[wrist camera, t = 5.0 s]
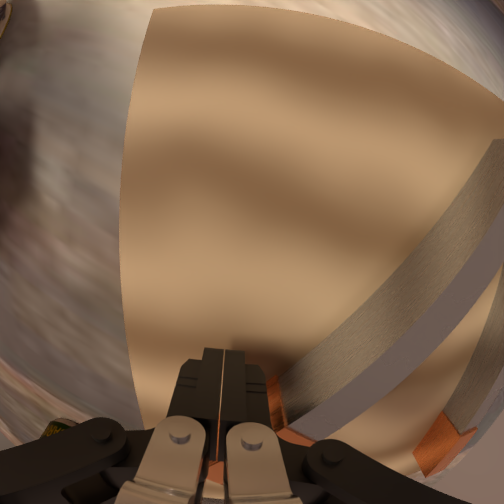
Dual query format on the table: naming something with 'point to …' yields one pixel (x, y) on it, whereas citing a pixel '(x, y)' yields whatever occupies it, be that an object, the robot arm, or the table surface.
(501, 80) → the table surface
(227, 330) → the cutting board
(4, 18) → the chinaware
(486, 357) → the tong fixed arm
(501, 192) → the tong free arm
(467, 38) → the table surface
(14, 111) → the table surface
